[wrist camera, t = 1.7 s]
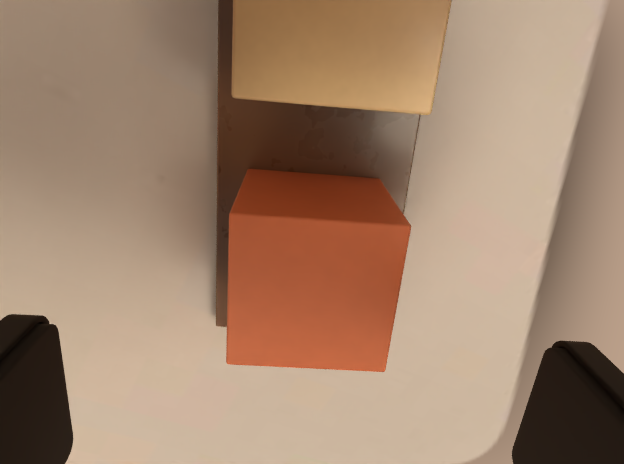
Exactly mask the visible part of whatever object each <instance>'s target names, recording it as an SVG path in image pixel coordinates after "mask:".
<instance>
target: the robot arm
mask: <svg viewBox="0 0 624 464" xmlns="http://www.w3.org/2000/svg"><path fill="white" fill-rule="evenodd" d="M72 444H73V432H72V425H71V417H70V410H69V403H68V396H67V389H66V382H65V375H64V368H63V360H62V353H61V346H60V339H59V332H58V328H57V327H56V325H54V324H49V321H48V319H47V318H46V317H44V316H38V315H17V314H11V315H7V316H6V317H4V318H3V319H2V320H1V321H0V464H65V463H66V461H67V459H68V457H69V455H70V452H71V449H72ZM512 459H513V464H624V373H622V372H621V371H620V370H619V369H618V368H617V367H616V366H615V365H614V364H613V363H612V362H611V361H610V360H609V359H608V358H607V357H606V356H605V355H604V354H602V353H601V352H600V351H599V350H598V349H597V348H596V347H595V346H594V345H592V344H591V343H588V342H575V341H574V342H573V341H558V342H556V343H554V344H553V346H552V348H548V349H547V350H546V351H545V353H544V355H543V358H542V361H541V364H540V367H539V370H538V373H537V376H536V379H535V382H534V385H533V388H532V392H531V395H530V397H529V401H528V403H527V406H526V410H525V413H524V416H523V419H522V422H521V425H520V428H519V431H518V434H517V437H516V440H515V443H514V446H513V450H512Z"/></svg>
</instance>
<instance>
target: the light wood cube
mask: <svg viewBox="0 0 624 464" xmlns="http://www.w3.org/2000/svg"><path fill="white" fill-rule="evenodd" d="M451 1H452V0H233V39H232V93H231V94H232V97H233V98H235V99H246V100H257V101H269V102H281V103H292V104H304V105H316V106H327V107H339V108H351V109H362V110H374V111H386V112H397V113H409V114H421V115H429V114H430V113H431V111H432V106H433V101H434V95H435V90H436V84H437V79H438V73H439V67H440V62H441V56H442V51H443V45H444V40H445V34H446V29H447V23H448V18H449V12H450V6H451Z"/></svg>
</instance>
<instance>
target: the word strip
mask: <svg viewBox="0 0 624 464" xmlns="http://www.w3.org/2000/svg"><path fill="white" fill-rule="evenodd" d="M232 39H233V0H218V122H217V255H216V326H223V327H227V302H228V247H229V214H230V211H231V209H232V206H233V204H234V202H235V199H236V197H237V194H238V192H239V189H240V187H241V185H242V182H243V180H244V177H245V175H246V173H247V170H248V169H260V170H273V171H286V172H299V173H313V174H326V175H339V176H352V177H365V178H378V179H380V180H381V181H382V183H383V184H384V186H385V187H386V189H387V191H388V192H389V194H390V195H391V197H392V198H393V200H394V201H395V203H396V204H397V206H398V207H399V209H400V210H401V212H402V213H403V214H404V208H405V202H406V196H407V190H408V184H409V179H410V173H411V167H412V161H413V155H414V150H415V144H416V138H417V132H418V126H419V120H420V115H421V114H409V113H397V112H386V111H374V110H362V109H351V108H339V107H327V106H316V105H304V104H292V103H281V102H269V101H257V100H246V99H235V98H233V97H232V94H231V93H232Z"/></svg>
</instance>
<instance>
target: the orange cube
mask: <svg viewBox="0 0 624 464" xmlns="http://www.w3.org/2000/svg"><path fill="white" fill-rule="evenodd" d="M410 230H411V225H410V224H409V222H408V221H407V219H406V218H405V216H404V215H403V213H402V212H401V210H400V209H399V207H398V206H397V204H396V203H395V201H394V200H393V198H392V197H391V195H390V194H389V192H388V191H387V189H386V187H385V186H384V184H383V183H382V181H381V180H380V179H378V178H365V177H352V176H339V175H326V174H313V173H299V172H286V171H273V170H260V169H248V170H247V173H246V175H245V177H244V180H243V182H242V185H241V187H240V189H239V192H238V194H237V197H236V199H235V202H234V204H233V206H232V209H231V211H230V214H229V247H228V302H227V356H226V362H227V364H234V365H255V366H275V367H296V368H316V369H336V370H357V371H377V372H384V371H385V368H386V363H387V357H388V352H389V346H390V341H391V335H392V330H393V324H394V319H395V313H396V308H397V302H398V296H399V291H400V285H401V280H402V274H403V269H404V263H405V258H406V252H407V247H408V241H409V236H410Z"/></svg>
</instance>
